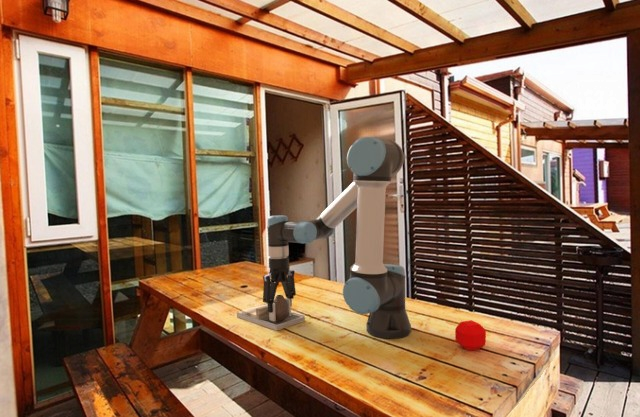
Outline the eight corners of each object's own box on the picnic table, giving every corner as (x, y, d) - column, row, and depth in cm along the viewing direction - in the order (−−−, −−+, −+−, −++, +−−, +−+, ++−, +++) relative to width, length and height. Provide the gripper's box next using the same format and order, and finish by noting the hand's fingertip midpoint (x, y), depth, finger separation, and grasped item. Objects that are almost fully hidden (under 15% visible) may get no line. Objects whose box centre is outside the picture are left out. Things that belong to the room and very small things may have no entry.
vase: (291, 316, 150) (291, 293, 150) (286, 322, 143) (285, 298, 143) (274, 315, 152) (273, 292, 151) (268, 321, 145) (267, 297, 144)
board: (304, 320, 149) (304, 315, 148) (276, 330, 138) (276, 325, 138) (264, 308, 165) (264, 304, 165) (236, 316, 155) (236, 312, 155)
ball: (490, 350, 117) (490, 325, 117) (467, 354, 115) (467, 328, 115) (473, 341, 125) (472, 317, 125) (451, 344, 123) (451, 320, 123)
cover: (284, 311, 155) (284, 301, 155) (259, 319, 146) (258, 309, 146) (266, 306, 163) (266, 297, 163) (241, 313, 154) (241, 303, 154)
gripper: (291, 252, 156) (293, 309, 157) (250, 259, 142) (252, 322, 143) (304, 254, 151) (306, 313, 152) (263, 261, 137) (265, 327, 138)
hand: (280, 317), depth 148 cm, fingers closed on vase, 7 cm apart
